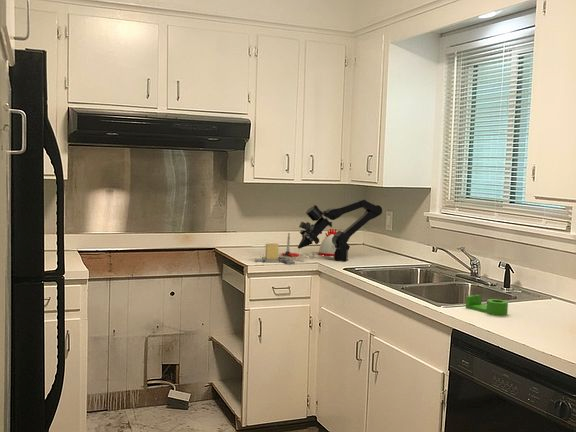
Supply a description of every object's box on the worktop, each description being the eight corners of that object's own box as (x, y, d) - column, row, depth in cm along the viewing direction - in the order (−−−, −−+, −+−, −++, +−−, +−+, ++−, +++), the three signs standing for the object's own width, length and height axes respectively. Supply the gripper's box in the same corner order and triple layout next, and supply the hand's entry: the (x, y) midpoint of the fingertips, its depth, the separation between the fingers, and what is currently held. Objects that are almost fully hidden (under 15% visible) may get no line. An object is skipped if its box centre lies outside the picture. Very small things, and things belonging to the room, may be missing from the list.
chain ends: (287, 259, 337) (287, 257, 337) (294, 264, 323) (294, 261, 323) (254, 260, 332) (254, 257, 332) (260, 264, 318) (260, 261, 318)
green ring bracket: (511, 315, 225) (512, 302, 225) (498, 317, 222) (499, 304, 221) (478, 306, 238) (478, 294, 238) (465, 308, 234) (465, 295, 234)
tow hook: (289, 254, 360) (280, 255, 353) (291, 232, 360) (281, 232, 352) (302, 256, 356) (292, 257, 348) (303, 233, 355) (294, 233, 347)
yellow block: (276, 260, 333) (276, 243, 332) (278, 261, 329) (278, 244, 328) (265, 260, 331) (265, 243, 330) (266, 261, 327) (267, 244, 327)
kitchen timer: (347, 256, 358) (348, 229, 357) (326, 257, 352) (327, 230, 351) (334, 252, 370) (335, 227, 369) (314, 253, 364) (315, 227, 363)
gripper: (303, 214, 342) (283, 235, 340) (314, 218, 324) (292, 239, 322) (317, 229, 345) (297, 249, 343) (328, 233, 327) (307, 254, 325)
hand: (298, 248), depth 333 cm, fingers closed
